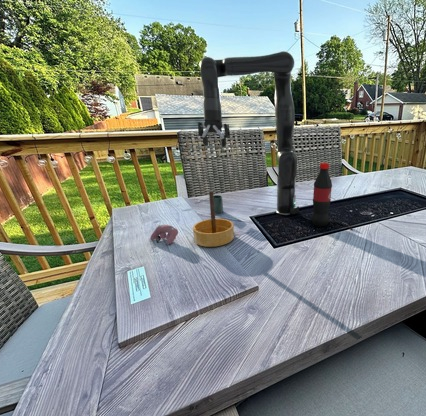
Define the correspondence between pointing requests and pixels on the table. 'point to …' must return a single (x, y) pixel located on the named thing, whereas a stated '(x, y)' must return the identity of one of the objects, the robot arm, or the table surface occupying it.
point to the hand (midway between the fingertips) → (214, 146)
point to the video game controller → (162, 232)
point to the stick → (212, 211)
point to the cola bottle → (322, 197)
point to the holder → (218, 204)
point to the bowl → (209, 239)
